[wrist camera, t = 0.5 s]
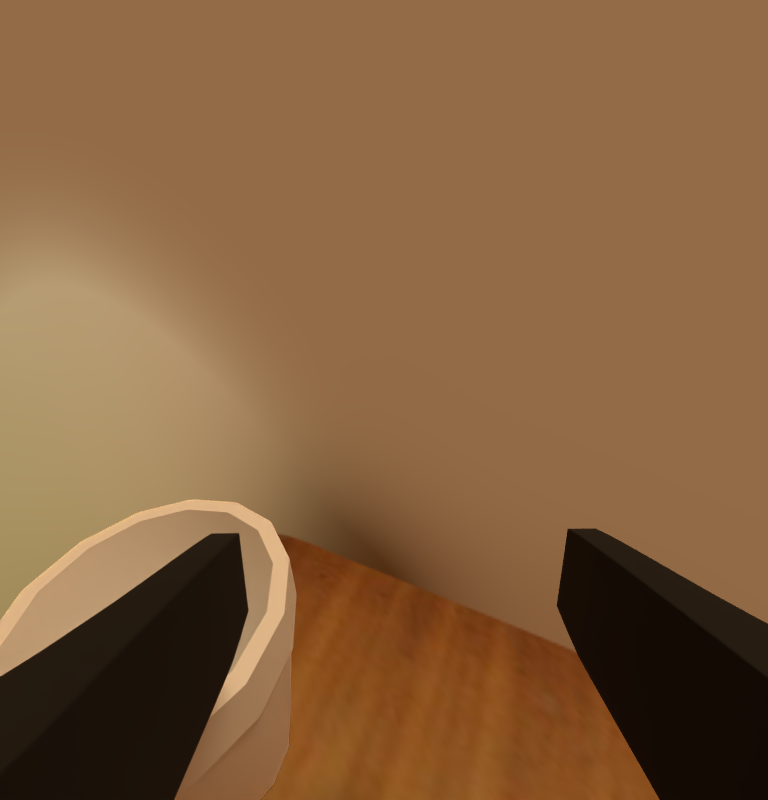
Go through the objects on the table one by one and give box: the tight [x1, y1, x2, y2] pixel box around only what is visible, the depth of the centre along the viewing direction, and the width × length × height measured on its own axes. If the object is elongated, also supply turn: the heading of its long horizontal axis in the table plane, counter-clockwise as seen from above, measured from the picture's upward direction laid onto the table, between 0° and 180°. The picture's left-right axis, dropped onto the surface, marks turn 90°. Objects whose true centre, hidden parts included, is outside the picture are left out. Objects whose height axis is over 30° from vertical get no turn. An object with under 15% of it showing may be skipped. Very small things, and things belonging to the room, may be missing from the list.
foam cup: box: [0, 499, 296, 800], centre depth 16 cm, size 10×9×13 cm
